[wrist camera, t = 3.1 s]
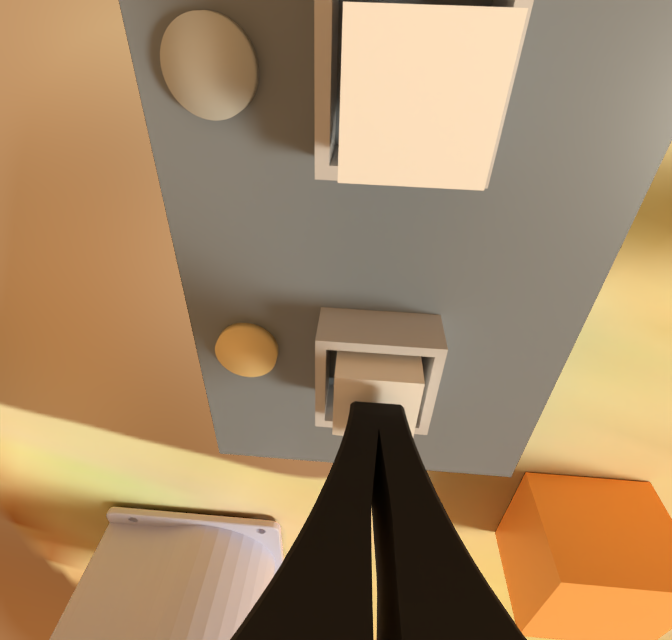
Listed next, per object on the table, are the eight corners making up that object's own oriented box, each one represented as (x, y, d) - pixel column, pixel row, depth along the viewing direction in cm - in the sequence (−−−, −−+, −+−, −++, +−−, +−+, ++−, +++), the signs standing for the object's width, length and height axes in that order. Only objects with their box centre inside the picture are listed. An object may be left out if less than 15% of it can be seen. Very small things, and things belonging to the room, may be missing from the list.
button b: (344, 149, 9) (337, 182, 7) (350, 2, 7) (342, 2, 6) (463, 155, 8) (484, 190, 7) (493, 7, 7) (528, 7, 5)
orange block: (495, 532, 22) (518, 635, 18) (525, 472, 19) (561, 582, 15) (600, 542, 22) (645, 647, 18) (650, 482, 19) (716, 596, 15)
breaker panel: (227, 430, 19) (207, 488, 16) (68, -388, 7) (-87, -588, 4) (503, 452, 18) (522, 515, 16) (868, -392, 6) (1153, -622, 4)
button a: (336, 386, 14) (332, 434, 13) (339, 331, 13) (334, 377, 11) (408, 391, 14) (412, 441, 13) (418, 336, 13) (424, 383, 11)
